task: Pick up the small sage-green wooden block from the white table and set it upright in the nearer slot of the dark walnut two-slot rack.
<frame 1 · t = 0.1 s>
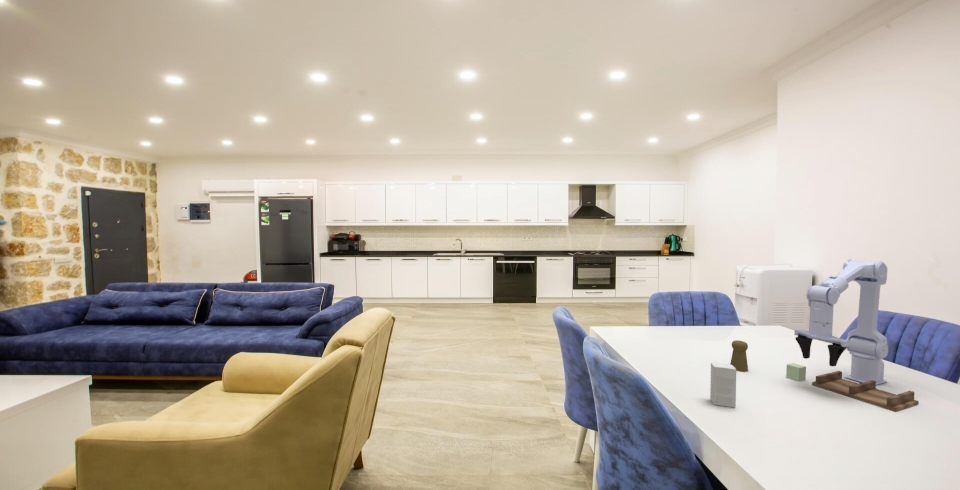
hand: (819, 361, 126), 10 cm above the table, tool pointing down, fingers open, 7 cm apart
cork: (738, 369, 147), on the table
sage block: (795, 378, 138), on the table
slot rack: (862, 394, 125), on the table
skincare box: (722, 404, 117), on the table
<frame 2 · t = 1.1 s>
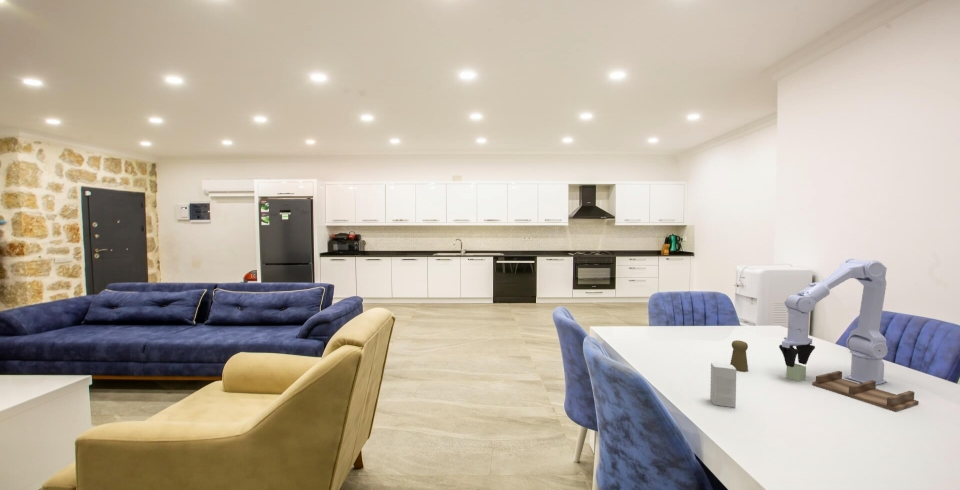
hand: (796, 364, 137), 5 cm above the table, tool pointing down, fingers open, 7 cm apart
nothing on the table moved.
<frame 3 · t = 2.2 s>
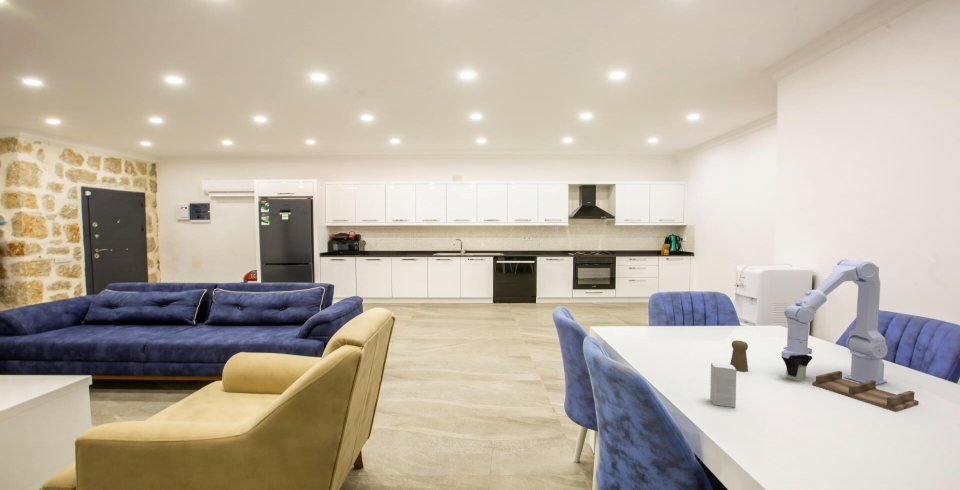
hand: (795, 374, 138), 1 cm above the table, tool pointing down, fingers closed on sage block, 4 cm apart
sage block: (795, 378, 138), on the table, touching gripper
everything else where it was.
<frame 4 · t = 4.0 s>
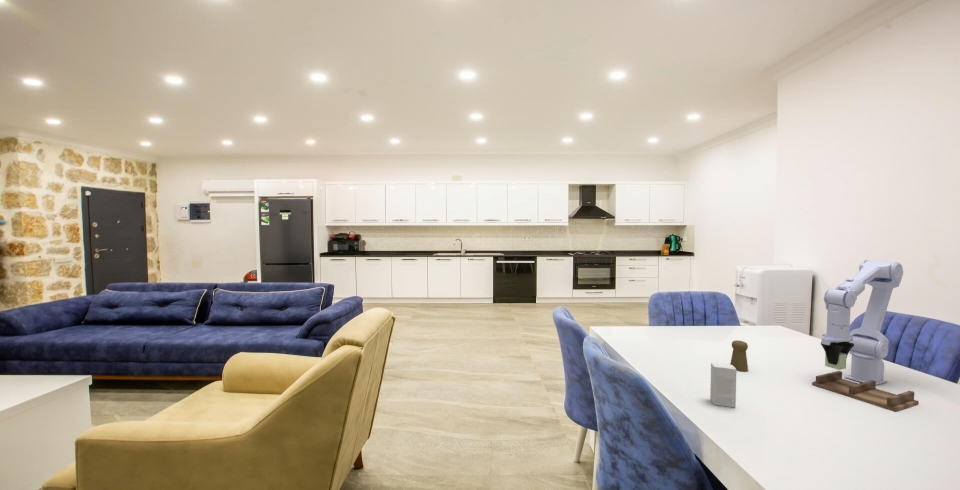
hand: (836, 363, 131), 8 cm above the table, tool pointing down, fingers closed on sage block, 4 cm apart
sage block: (835, 367, 131), point 7 cm above the table, touching gripper
everything else where it was.
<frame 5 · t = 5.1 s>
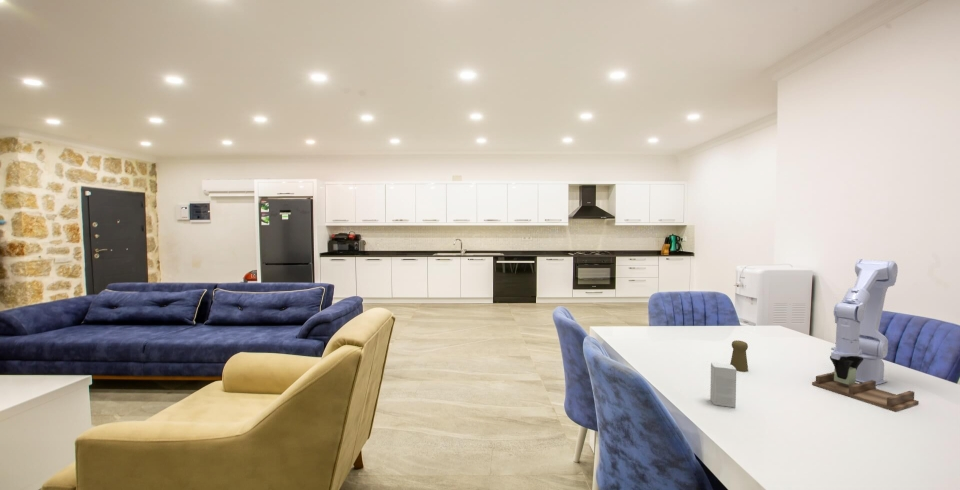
hand: (845, 377, 129), 4 cm above the table, tool pointing down, fingers closed on sage block, 4 cm apart
sage block: (844, 381, 129), point 2 cm above the table, touching gripper
everything else where it was.
when the fingers open (4 cm above the table, at t = 5.9 s): sage block drops 1 cm, resting on slot rack.
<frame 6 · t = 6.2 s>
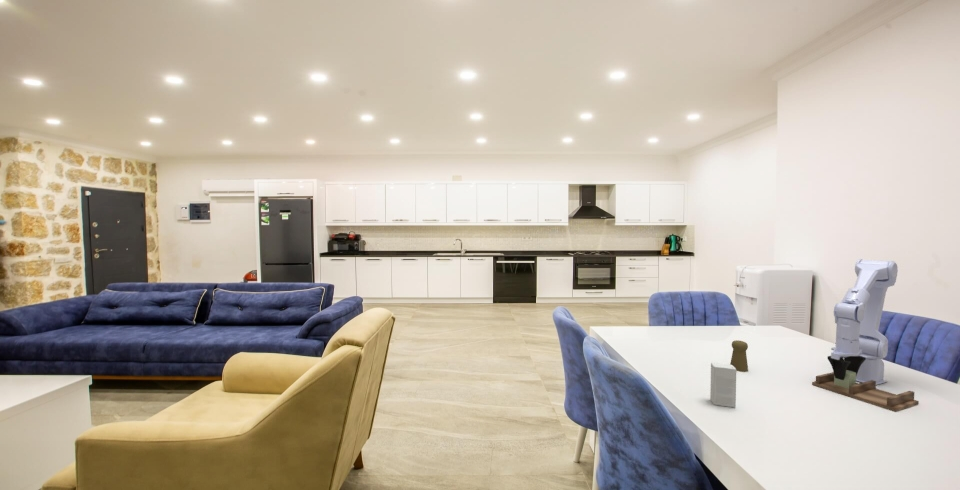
hand: (845, 377, 129), 4 cm above the table, tool pointing down, fingers open, 7 cm apart
sage block: (844, 385, 129), point 1 cm above the table, touching slot rack
everything else where it was.
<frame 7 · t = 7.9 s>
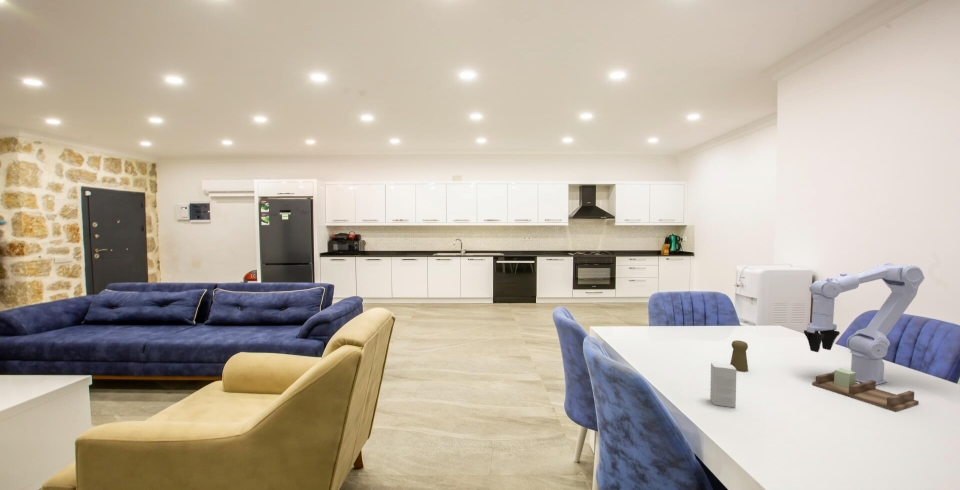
hand: (820, 350, 138), 10 cm above the table, tool pointing down, fingers open, 7 cm apart
nothing on the table moved.
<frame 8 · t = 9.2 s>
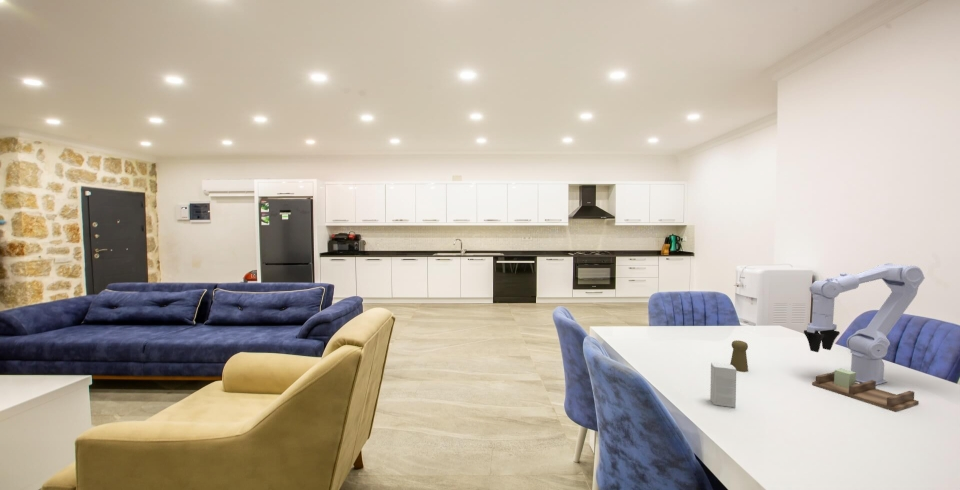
hand: (820, 350, 138), 10 cm above the table, tool pointing down, fingers open, 7 cm apart
nothing on the table moved.
at the end: sage block inside the target area on the slot rack (0.2 cm from its centre), point 1.0 cm above the slot rack's base; sage block tilted 0°; the gripper is holding nothing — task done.
